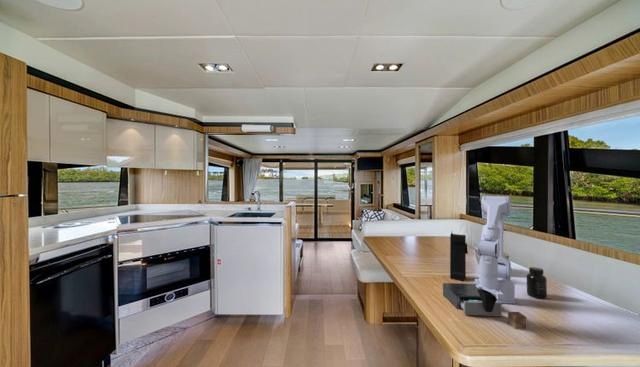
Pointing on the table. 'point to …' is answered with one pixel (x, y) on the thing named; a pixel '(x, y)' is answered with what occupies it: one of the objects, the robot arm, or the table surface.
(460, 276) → the portable radio
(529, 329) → the table surface
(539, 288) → the supplement bottle
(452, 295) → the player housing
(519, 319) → the walnut block
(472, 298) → the disc
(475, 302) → the tray
